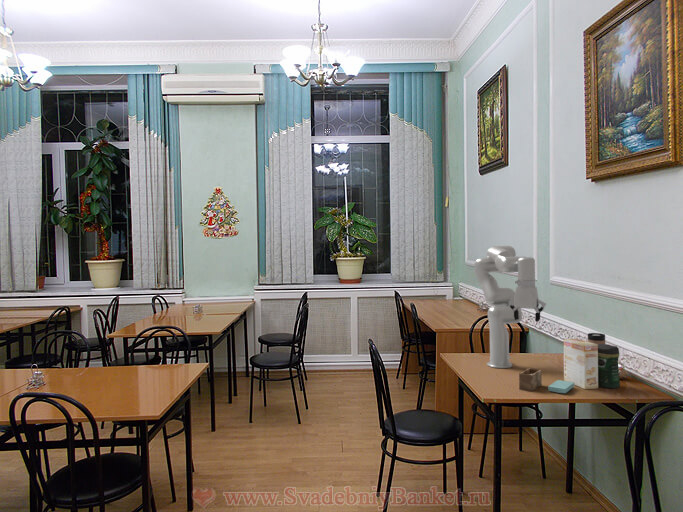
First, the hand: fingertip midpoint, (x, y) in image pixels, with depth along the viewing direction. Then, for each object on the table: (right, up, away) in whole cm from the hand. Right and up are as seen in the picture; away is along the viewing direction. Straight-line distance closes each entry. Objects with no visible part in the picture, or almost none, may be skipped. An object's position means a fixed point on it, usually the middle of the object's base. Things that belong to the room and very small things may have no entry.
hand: (526, 320), depth 231 cm
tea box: (-2, -29, -10) cm, 30 cm away
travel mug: (+36, -28, +7) cm, 46 cm away
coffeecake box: (+22, -28, -7) cm, 36 cm away
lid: (+9, -28, -15) cm, 33 cm away
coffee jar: (+32, -28, -11) cm, 44 cm away
